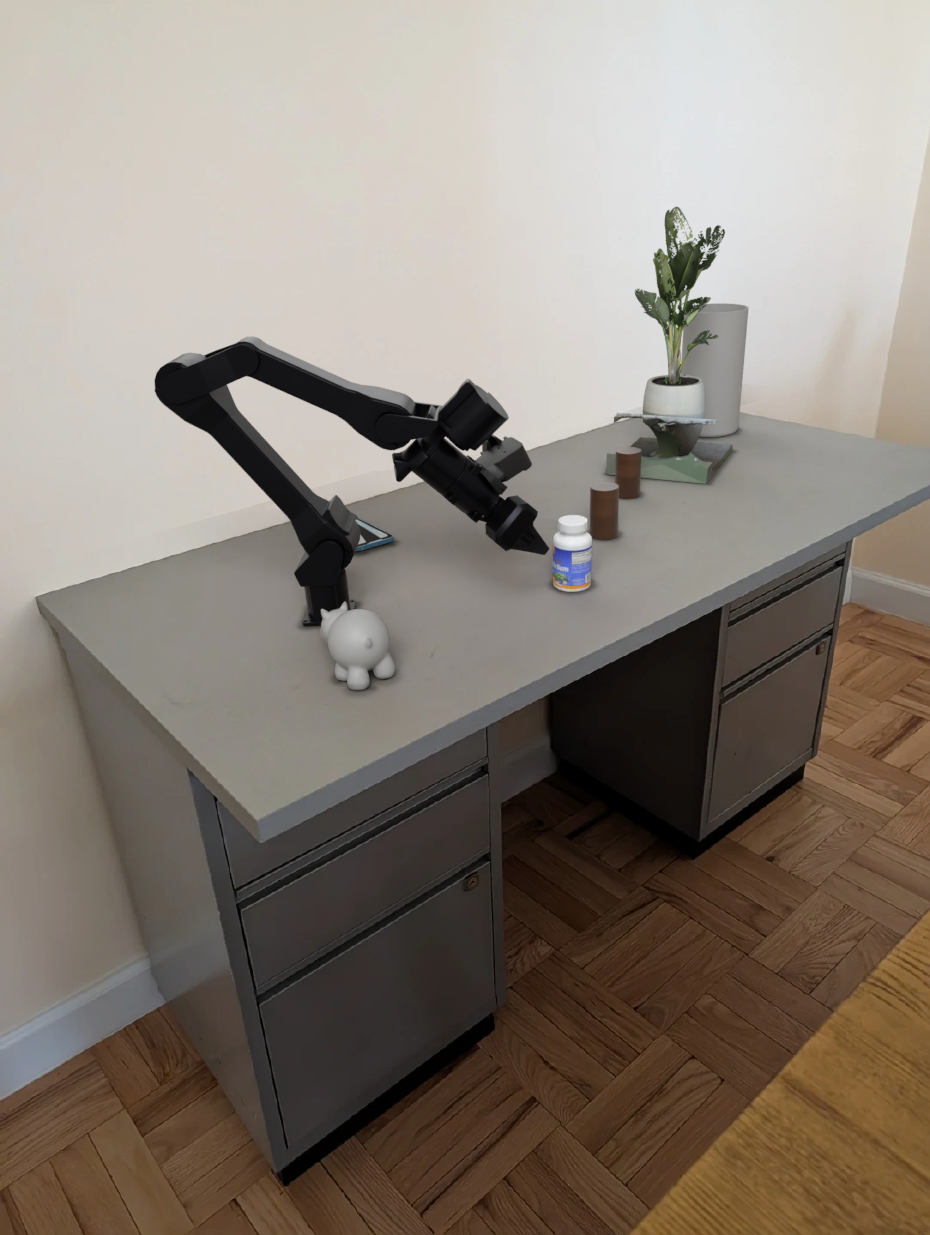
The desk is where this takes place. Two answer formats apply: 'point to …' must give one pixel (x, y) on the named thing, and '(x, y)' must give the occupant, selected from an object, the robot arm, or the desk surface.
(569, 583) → the pill bottle
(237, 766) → the desk surface
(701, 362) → the cylinder vase
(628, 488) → the far peg
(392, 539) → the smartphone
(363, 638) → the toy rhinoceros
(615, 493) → the near peg
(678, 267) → the potted plant
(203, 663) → the desk surface
